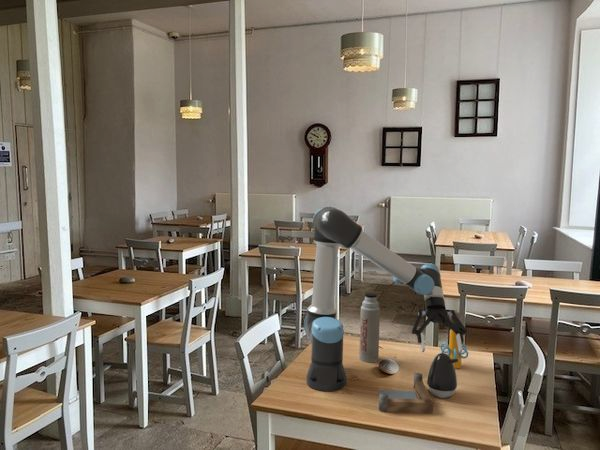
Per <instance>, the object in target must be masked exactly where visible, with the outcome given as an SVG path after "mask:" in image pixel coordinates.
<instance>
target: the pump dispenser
mask: <svg viewBox="0 0 600 450" xmlns="http://www.w3.org/2000/svg"><path fill="white" fill-rule="evenodd" d="M455 362H458V359H451V358H450V356H449V355H447V353H441V352H440V353H438V354H436V356H435V357H434V358H433V360H432V363H431V364H430V367H429V369H428V375H427V379H426V383H427V387H428V389H429V391H430V393H431V394H432V395H433V396H435V397H437V398H440V399H441V398H442V399H446V398H449V397H451V396H453V395H454V393H455V392H456V389H457V388H458V380H457V379H458V378H457V372H456V369H455V368H454V365H453V363H455Z"/></svg>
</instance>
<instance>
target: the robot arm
mask: <svg viewBox="0 0 600 450" xmlns="http://www.w3.org/2000/svg"><path fill="white" fill-rule="evenodd" d="M312 227H313V238H312V239H313V241H312V242H314V244H315V245H316V248H315V249H316V250H315V260H314V273H313V283H312V284H313V285H312V294H311V303H310V305H309V306H308V307H307V309H306V311H307V312H306V315H305V318H304V320H303V321H304V322H303V329H304V333H305V335H306V336H307V337H308V340H309V341H310V343H311V359H310V360H311V362H310V364H309V367H308V371H307V374H306V377H305V381H306V382H305V383H306V384H307V386H308V387H310V388H312V389H315V390H318V391H323V392H324V391H325V392H333V391H339V390H342V389H344V388H345V387H346V386H347V384H348V382H347V381H348V377H347V373H346V369H345V367H344V363H343V360H344V359H343V355H344V333H345V330H344V325H343V323H342V322H341V321H340V319H337V310H336V308H335V307H334V301H335V300H334V298H335V289H336V279H337V278H336V277H337V270H338V269H337V267H338V258H339V257H338V256H339V255H338V254H339V247H340V246H342V247H344V248H346V249H349V250H351V249H352V250H353V251H355V253H358V254H360V255H361V256H363V257H364V258H365V259H367V260H368V261H370V262H371V263H373V264H374V265H375V266H378V267H379V268H380V269H382V270H383V271H384V272H386V273H388V274H389V275H391V276H392V280H393V282H394V283H395V284H399V285H403V286H407V288H409V289H411V290H412V291H414V292H415V293H416V294H419V295H421V296H423V300H424V306H425V310H422V309H419V310H418V311H417V312H418V313H417V318H416V320H415V323H414V325H413V328H412V331H411V334H413V335H414V334H415V335H416V339H417V343H418V344H420V349H421V353H425V351H426V345H425V338H424V337H425V336H424V332H423V331H424V330H425V329H426V328H427V326H428V325H429V324H430V323H432V324H436V323H438V324H442V323H443V324H444V325H446V326H447V327H448V328H449V330H450V329H451V330H452V331H453V332H455V333H456V334H457V336H456V339H457V345H458V351H459V353H463V351H464V350H463V349H462V348H463V346H462V345H464V336H465V335H466V333H467V330H468V329H466V327H465V326H464V324H463V323H462V321H461V320H460V319H459V318H458V316H457V314H456V311H455V310H454V309H452V310H451V311H448V310H447V309H446V304H445V303H446V301H445V297H444V290H443V284H442V278H441V277H442V276H441V272H440V269H439V266H437V265H436V264H433V263H429V264H428V263H426V264H423V265H422V266H420V268H419V267H416V266H414V265H412V263H410V262H408V261H407V260H405V259H404V258H402V257H401V256H400V255H398V254H397V253H396V252H395V251H392V250H391V249H390V248H388V247H387V246H385V245H384V244H382V243H381V242H379V241H378V240H377V239H375V238H374V237H372V236H371V235H369V234H368V233H366V232H365V231H364V230H363V229H364V228H363V227H362V226H361V225H360V224H358V223H357V222H356V221H355V220H353V219H352V218H351V217H350V216H349V215H348V214H346V212H344V211H343V210H340V209H338V208H336V207H332V206H325V207H322V208H320V209H318V210H317V211H316V212H315V213H314V215H313V217H312ZM424 316H426V320H425V321H424V322H423V323H422V324H421V326H420V327H419V328H418V326H419V324H420V322H421V319H422V318H423V317H424ZM450 318H451V320H452V321H451V320H450Z"/></svg>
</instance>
